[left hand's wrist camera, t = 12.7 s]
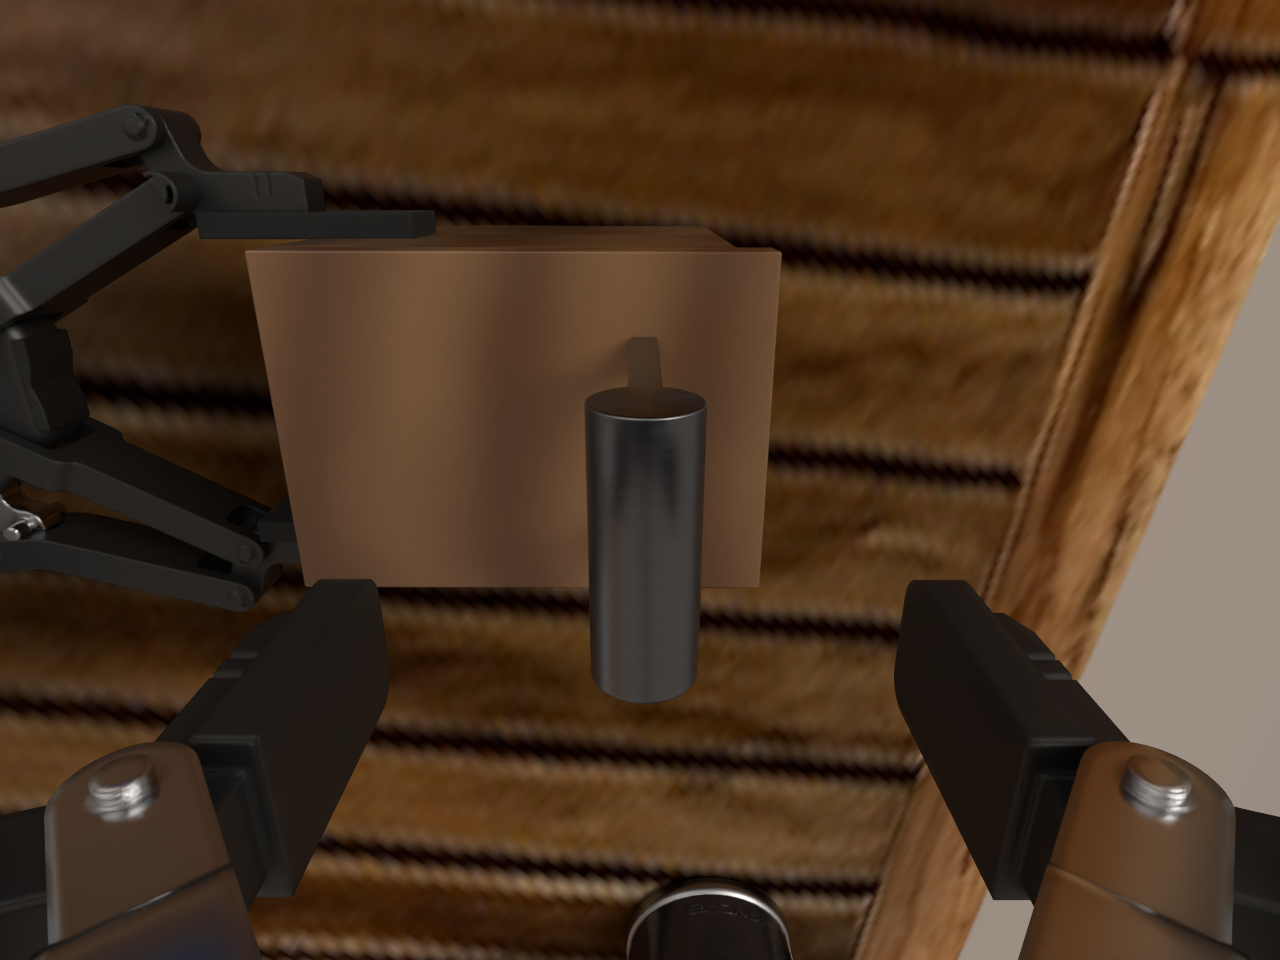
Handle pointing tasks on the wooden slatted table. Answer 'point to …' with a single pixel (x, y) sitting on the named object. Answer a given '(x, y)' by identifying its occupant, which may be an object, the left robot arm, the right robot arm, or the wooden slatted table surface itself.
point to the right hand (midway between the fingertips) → (439, 381)
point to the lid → (530, 427)
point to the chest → (541, 237)
